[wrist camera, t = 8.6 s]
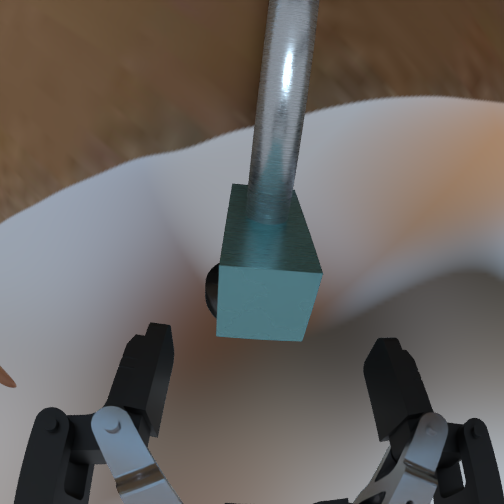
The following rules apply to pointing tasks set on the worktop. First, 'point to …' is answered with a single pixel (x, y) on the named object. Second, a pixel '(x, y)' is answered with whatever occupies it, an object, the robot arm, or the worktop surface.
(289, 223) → the rod with teal cap
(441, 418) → the robot arm
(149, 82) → the worktop surface
